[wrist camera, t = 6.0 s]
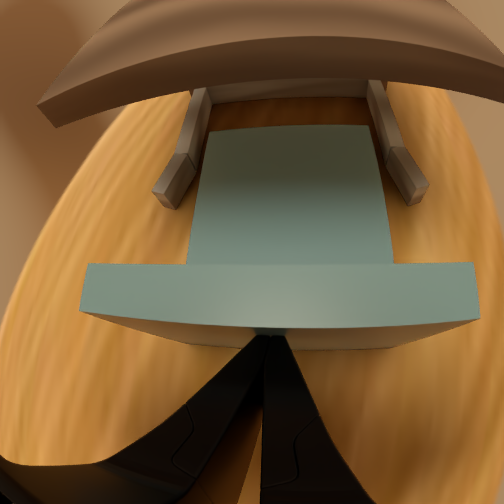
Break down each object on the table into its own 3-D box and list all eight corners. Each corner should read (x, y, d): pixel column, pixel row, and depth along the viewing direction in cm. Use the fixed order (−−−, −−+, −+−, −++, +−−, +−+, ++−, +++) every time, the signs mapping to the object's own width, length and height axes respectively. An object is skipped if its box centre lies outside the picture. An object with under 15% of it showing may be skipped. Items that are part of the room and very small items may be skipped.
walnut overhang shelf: (426, 232, 16) (519, 73, 5) (157, 235, 19) (36, 105, 8) (379, 76, 22) (387, -39, 11) (198, 84, 25) (156, -21, 14)
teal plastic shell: (390, 347, 14) (480, 318, 6) (187, 343, 16) (78, 310, 8) (365, 139, 19) (380, 30, 11) (215, 145, 21) (173, 45, 13)
